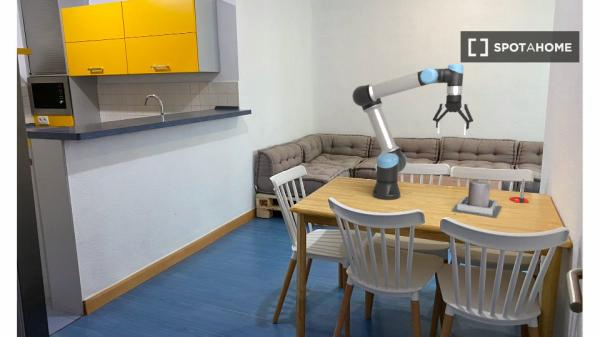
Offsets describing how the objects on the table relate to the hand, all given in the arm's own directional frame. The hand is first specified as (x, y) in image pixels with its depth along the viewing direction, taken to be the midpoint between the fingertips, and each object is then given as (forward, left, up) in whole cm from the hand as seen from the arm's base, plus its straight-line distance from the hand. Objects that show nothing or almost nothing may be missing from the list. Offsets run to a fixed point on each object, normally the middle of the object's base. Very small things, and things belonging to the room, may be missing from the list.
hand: (451, 134), depth 219 cm
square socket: (+18, -16, -35) cm, 42 cm away
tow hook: (+34, +11, -35) cm, 50 cm away
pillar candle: (+18, -16, -34) cm, 42 cm away
